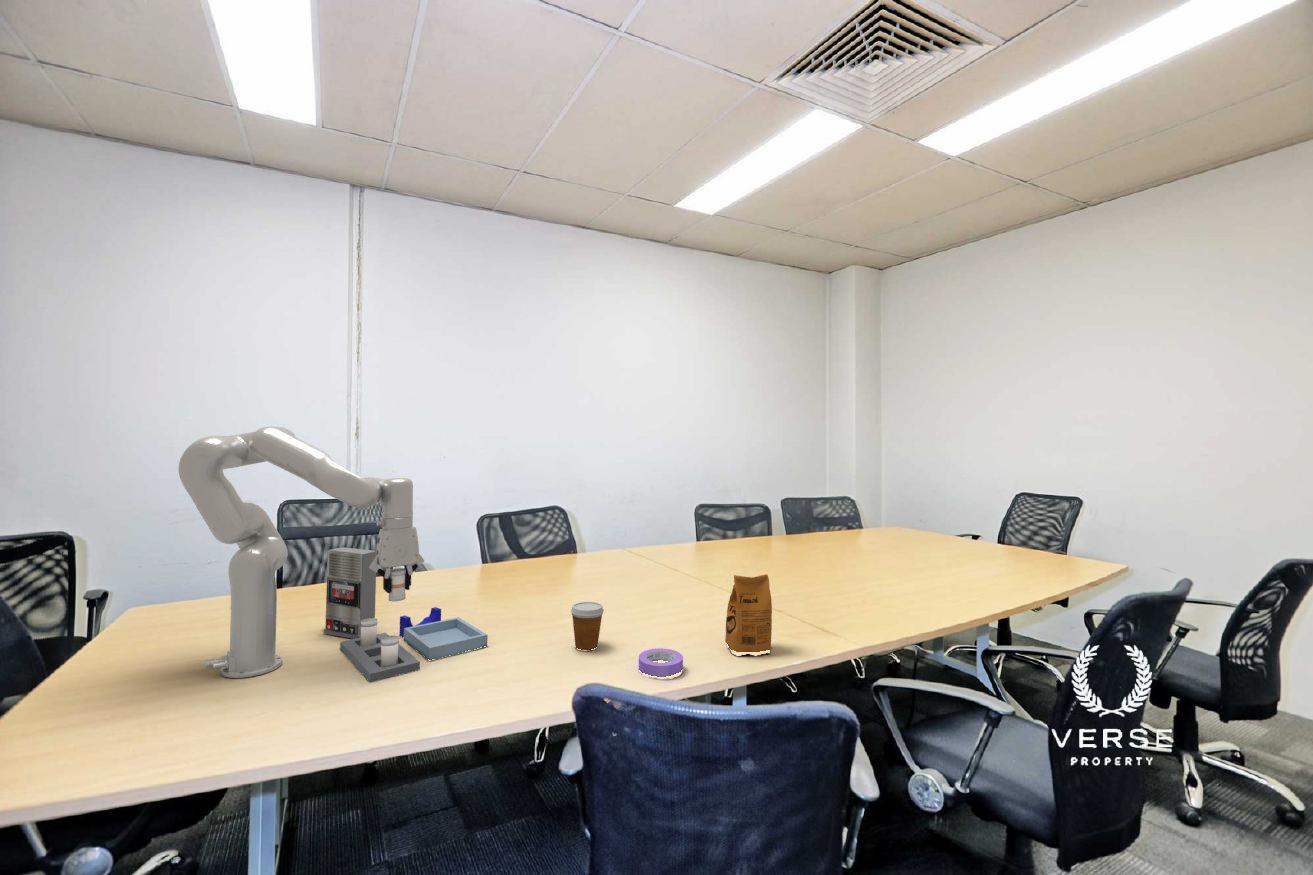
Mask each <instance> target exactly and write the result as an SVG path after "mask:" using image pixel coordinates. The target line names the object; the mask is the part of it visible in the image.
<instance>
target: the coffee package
mask: <svg viewBox="0 0 1313 875" xmlns="http://www.w3.org/2000/svg"><path fill="white" fill-rule="evenodd" d="M733 582H734V583H733V584H734V585H733V586H732V590H731V594H730V596H729V600H728V603H727V610H726V620H725V636H724V637H725V639H724V640H725V644H726V643H727V644H728V646H729V648H730V649H731V650H734V651H736V652H760V651H766V650H771V651H772V631H773V630H772V626H773V625H772V623H773V619H772V616H773V604H772V603H773V602H772V595H771V590H770V579H769V575H768V574H767V573H766V574H761V575H758V576H753V577H751V576H743V575H736V574H733ZM727 644H726V645H727Z"/></svg>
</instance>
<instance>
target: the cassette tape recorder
mask: <svg viewBox="0 0 1313 875" xmlns="http://www.w3.org/2000/svg"><path fill="white" fill-rule="evenodd" d="M326 557H327V558H326V559H327V561H326V562H327V563H326V592H325V593H326V595H325V596H326V598H325V599H326V600H325V628H323V629H322V630H323V632H322V633H323V634H325V635H331V636H336V637H343V638H348V639H356V638H361V620H363V619H367V618H376V592H377V572H375V571H373V570H371V569H369V566H370V565H371V563H372V562H373V560H374V559H375V557H376V550H370V549H364V548H363V549H361V548H360V549H359V548H355V547H354V548H351V547H344V546H343V547H338V548H332V549H328V550H327V556H326Z"/></svg>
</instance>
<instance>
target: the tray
mask: <svg viewBox="0 0 1313 875" xmlns="http://www.w3.org/2000/svg"><path fill="white" fill-rule="evenodd" d="M488 637H489V636H488V634H487V633H486V632H484V631H482V630H480V629H479V628H477V627H475V626H474V625H472V624H470V623H469V622H467V621H466V620H464V619H462V618H461V617H459V616H458V617H454V618H448V619H443V620H441V621H438V622H433V623H428V624H423V625H418V626H415V625H413V627H408V628H404V638H403V641H404V642H405V641H406V642H407V643H406V642H405V643H406V644H408V645H409V646H410V647H411V646H412V647H411V648H413V649H414V650H415V651H416V650H417V651H418V652H417V651H416V652H417V653H418V654H419V655H421V656H422V655H424V656H425V657H424V656H423V657H424V659H426V658H427V659H429V660H432V659H436V660H440V659H439V658H441V659H443V658H442V657H445V656H449V655H453V656H456V655H455V654H457V655H459V654H458V653H461V654H463V653H462V652H465V651H468V650H473V651H475V650H474V649H477V648H480V647H484V646H487V647H488ZM477 650H478V649H477ZM465 653H466V652H465ZM449 657H450V656H449ZM445 658H446V657H445ZM427 659H426V660H427ZM432 661H433V660H432Z"/></svg>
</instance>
